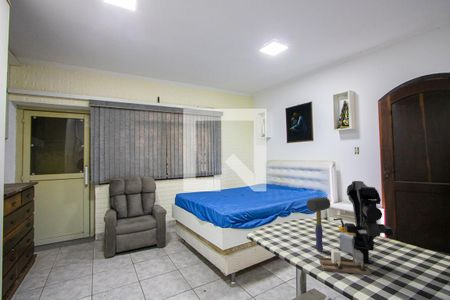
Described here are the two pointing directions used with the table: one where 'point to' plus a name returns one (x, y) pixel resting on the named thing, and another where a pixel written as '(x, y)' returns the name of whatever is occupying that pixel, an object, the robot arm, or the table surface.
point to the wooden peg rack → (346, 264)
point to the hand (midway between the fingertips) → (368, 247)
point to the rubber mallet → (318, 217)
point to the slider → (335, 256)
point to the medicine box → (346, 243)
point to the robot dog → (343, 227)
